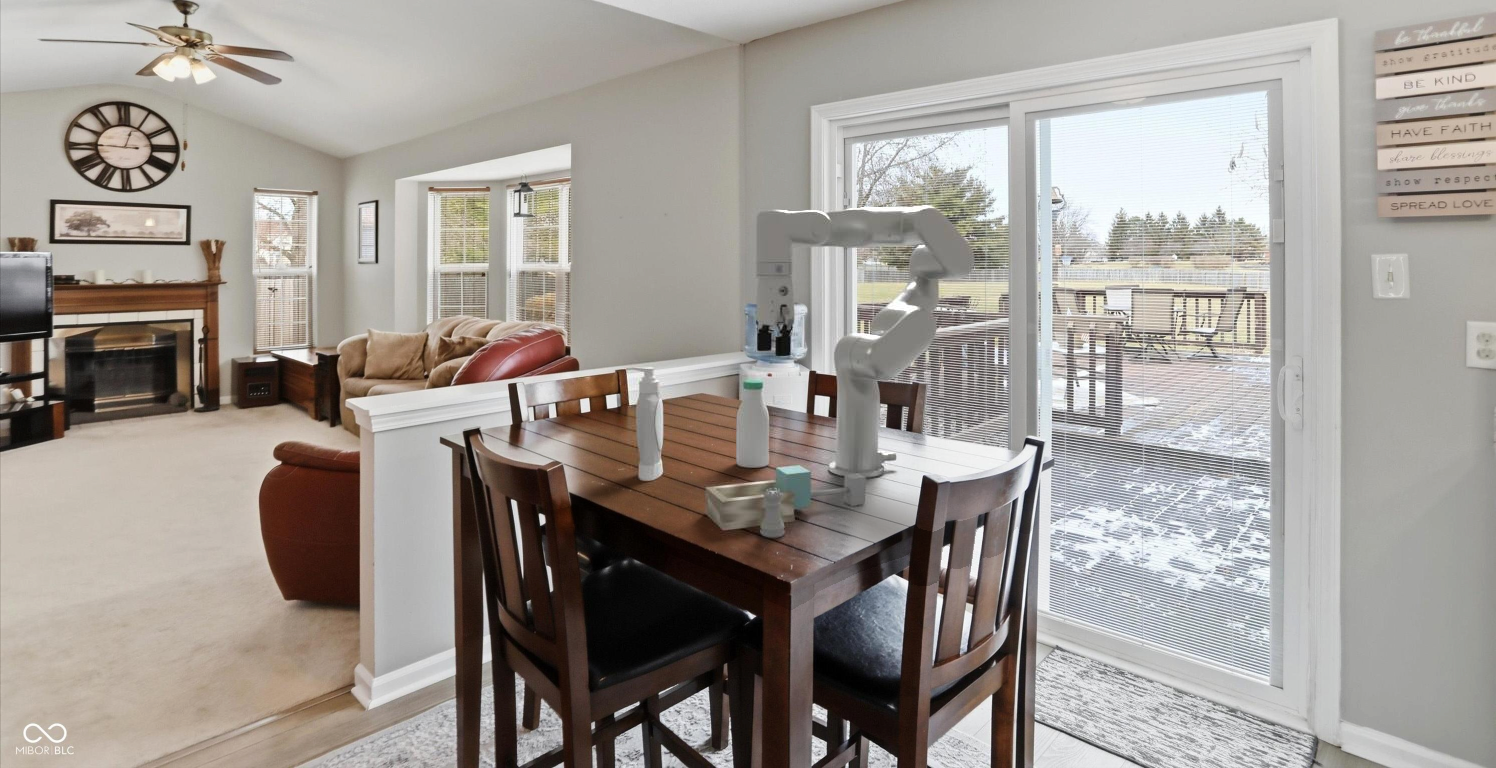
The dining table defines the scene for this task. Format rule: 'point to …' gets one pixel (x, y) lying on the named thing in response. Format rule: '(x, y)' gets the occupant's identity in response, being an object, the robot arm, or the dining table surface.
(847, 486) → the cube dumbbell
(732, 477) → the dining table surface
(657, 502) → the dining table surface
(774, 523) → the rook chess piece
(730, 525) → the beige wooden open box
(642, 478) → the soap bottle
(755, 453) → the milk bottle
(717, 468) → the dining table surface
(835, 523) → the dining table surface
